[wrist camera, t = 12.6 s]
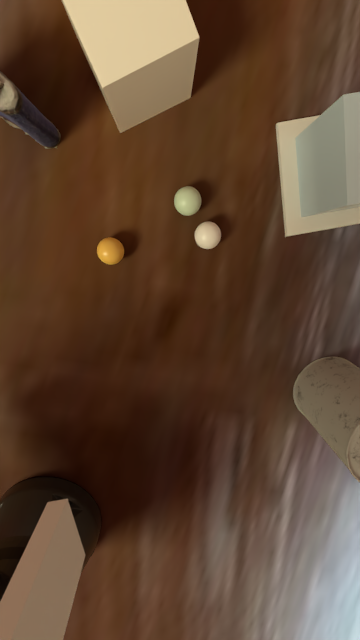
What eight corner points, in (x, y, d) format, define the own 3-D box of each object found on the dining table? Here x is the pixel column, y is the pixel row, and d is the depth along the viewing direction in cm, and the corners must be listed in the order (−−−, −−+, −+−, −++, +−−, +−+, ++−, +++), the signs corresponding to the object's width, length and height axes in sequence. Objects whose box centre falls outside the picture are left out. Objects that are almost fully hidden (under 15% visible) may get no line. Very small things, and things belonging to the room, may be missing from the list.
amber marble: (95, 268, 33) (115, 262, 31) (88, 241, 32) (108, 234, 31) (112, 265, 35) (132, 260, 34) (106, 240, 35) (125, 234, 33)
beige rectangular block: (120, 133, 32) (102, 88, 23) (82, 49, 30) (46, -35, 21) (190, 97, 31) (199, 37, 23) (156, 9, 29) (151, -93, 21)
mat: (285, 236, 35) (287, 236, 34) (275, 125, 32) (277, 122, 32) (384, 219, 35) (387, 218, 34) (383, 106, 32) (387, 103, 32)
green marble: (176, 219, 34) (177, 216, 31) (171, 191, 33) (172, 186, 30) (201, 214, 34) (204, 211, 31) (197, 187, 33) (200, 181, 30)
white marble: (193, 242, 35) (196, 255, 33) (192, 218, 33) (195, 230, 31) (218, 240, 35) (222, 252, 33) (218, 215, 33) (223, 227, 31)
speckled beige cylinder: (318, 344, 38) (386, 386, 26) (375, 374, 40) (465, 428, 28) (279, 403, 40) (327, 468, 28) (336, 431, 41) (404, 504, 29)
